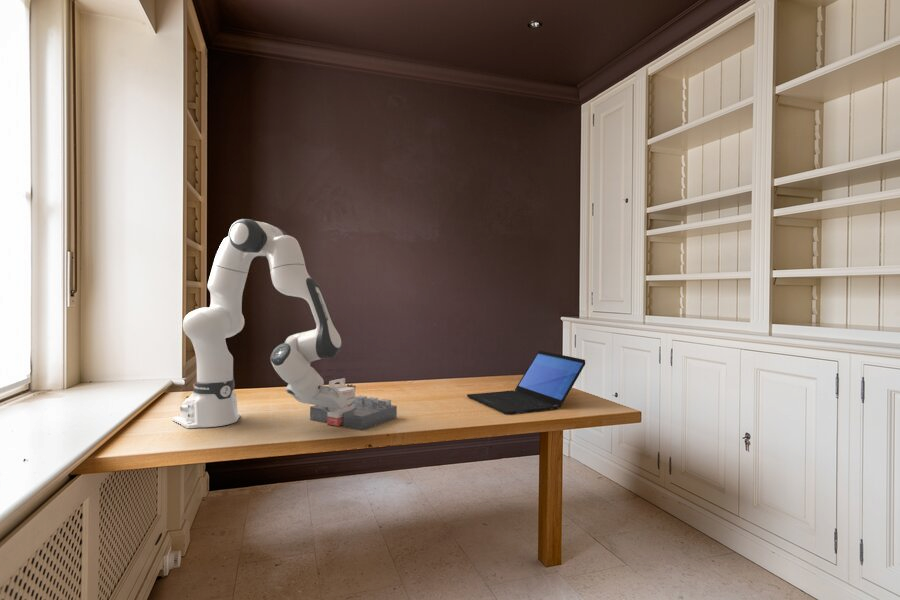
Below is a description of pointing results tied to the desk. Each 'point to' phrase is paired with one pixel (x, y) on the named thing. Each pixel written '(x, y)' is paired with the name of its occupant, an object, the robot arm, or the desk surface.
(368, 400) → the castellated collar
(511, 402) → the laptop
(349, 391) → the ink cartridge box
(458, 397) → the desk surface
